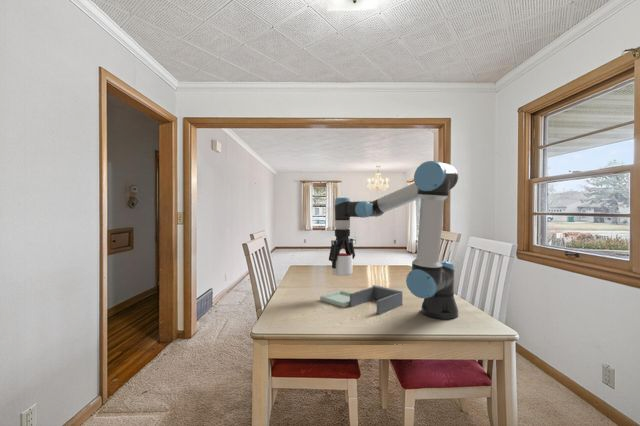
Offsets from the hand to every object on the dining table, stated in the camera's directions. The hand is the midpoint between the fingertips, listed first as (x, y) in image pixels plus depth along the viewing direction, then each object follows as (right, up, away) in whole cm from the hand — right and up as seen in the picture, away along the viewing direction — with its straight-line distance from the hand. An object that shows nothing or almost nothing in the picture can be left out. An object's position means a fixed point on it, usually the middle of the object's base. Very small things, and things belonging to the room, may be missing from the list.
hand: (342, 273), depth 160 cm
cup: (0, -1, 0) cm, 1 cm away
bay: (+15, -14, -8) cm, 22 cm away
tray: (0, -14, 0) cm, 14 cm away
